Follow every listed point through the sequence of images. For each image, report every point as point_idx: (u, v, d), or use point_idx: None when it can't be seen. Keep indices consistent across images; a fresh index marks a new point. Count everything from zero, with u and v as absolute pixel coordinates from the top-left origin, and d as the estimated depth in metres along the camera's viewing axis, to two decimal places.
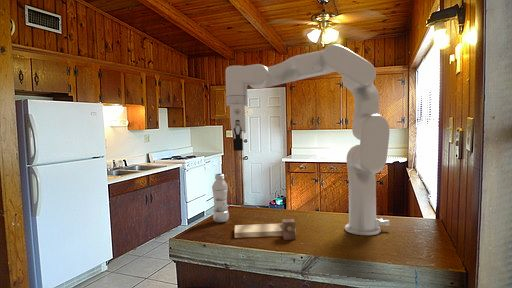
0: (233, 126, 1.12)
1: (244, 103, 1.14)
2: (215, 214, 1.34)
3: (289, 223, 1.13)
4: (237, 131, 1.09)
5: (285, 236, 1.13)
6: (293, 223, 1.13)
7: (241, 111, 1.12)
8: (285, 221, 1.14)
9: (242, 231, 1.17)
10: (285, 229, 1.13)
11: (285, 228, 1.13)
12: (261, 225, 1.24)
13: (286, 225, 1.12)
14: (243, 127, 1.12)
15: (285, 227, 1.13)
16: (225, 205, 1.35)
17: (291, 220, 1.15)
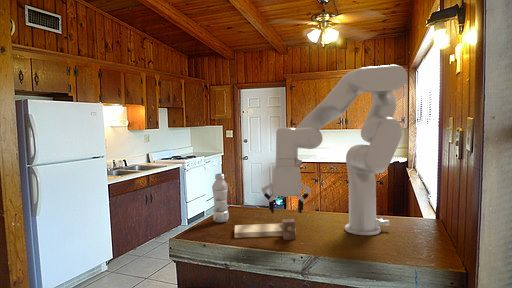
0: None
1: None
2: (215, 214, 1.34)
3: (289, 223, 1.13)
4: None
5: (285, 236, 1.13)
6: (293, 223, 1.13)
7: None
8: (285, 221, 1.14)
9: (242, 231, 1.17)
10: (285, 229, 1.13)
11: (285, 228, 1.13)
12: (261, 225, 1.24)
13: (286, 225, 1.12)
14: None
15: (285, 227, 1.13)
16: (225, 205, 1.35)
17: (291, 220, 1.15)
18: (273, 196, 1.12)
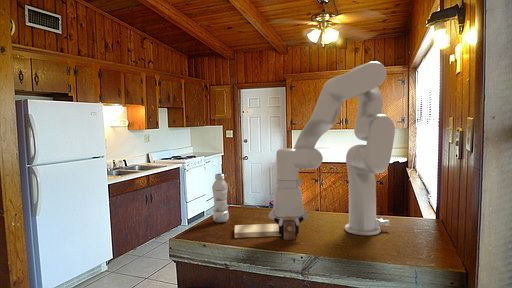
0: None
1: None
2: (215, 214, 1.34)
3: (289, 223, 1.13)
4: None
5: (285, 236, 1.13)
6: (293, 223, 1.13)
7: None
8: (285, 221, 1.14)
9: (242, 231, 1.17)
10: (285, 229, 1.13)
11: (285, 228, 1.13)
12: (261, 225, 1.24)
13: (286, 225, 1.12)
14: None
15: (285, 227, 1.13)
16: (225, 205, 1.35)
17: (291, 220, 1.15)
18: (280, 220, 1.13)
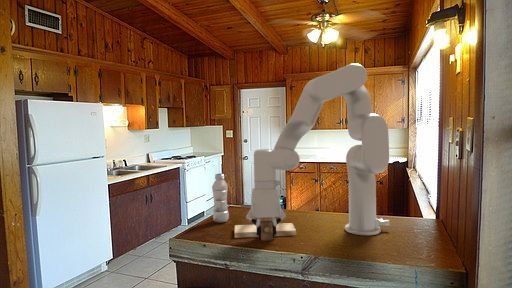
0: None
1: None
2: (215, 214, 1.34)
3: (266, 224, 1.12)
4: None
5: (262, 237, 1.12)
6: (270, 224, 1.12)
7: None
8: (262, 222, 1.13)
9: (242, 231, 1.17)
10: (262, 230, 1.12)
11: (262, 229, 1.12)
12: None
13: (263, 226, 1.12)
14: None
15: (262, 228, 1.12)
16: (225, 205, 1.35)
17: (269, 221, 1.14)
18: (258, 221, 1.13)
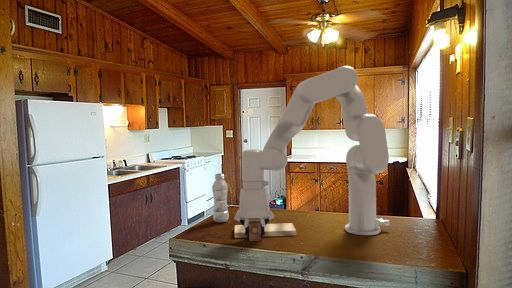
0: None
1: None
2: (215, 214, 1.34)
3: (254, 224, 1.12)
4: None
5: (250, 237, 1.12)
6: (258, 224, 1.12)
7: None
8: (251, 222, 1.13)
9: (242, 231, 1.17)
10: (250, 230, 1.12)
11: (250, 229, 1.12)
12: None
13: (251, 226, 1.12)
14: None
15: (250, 228, 1.12)
16: (225, 205, 1.35)
17: (257, 221, 1.14)
18: (246, 221, 1.12)
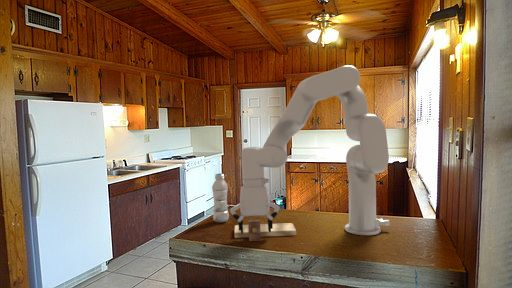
0: (269, 208, 1.13)
1: None
2: (215, 214, 1.34)
3: (254, 224, 1.12)
4: (277, 211, 1.14)
5: (250, 237, 1.12)
6: (258, 224, 1.12)
7: None
8: (250, 222, 1.13)
9: None
10: (250, 230, 1.12)
11: (250, 229, 1.12)
12: (261, 225, 1.24)
13: (251, 226, 1.12)
14: None
15: (250, 228, 1.12)
16: (225, 205, 1.35)
17: (257, 221, 1.14)
18: (241, 216, 1.12)
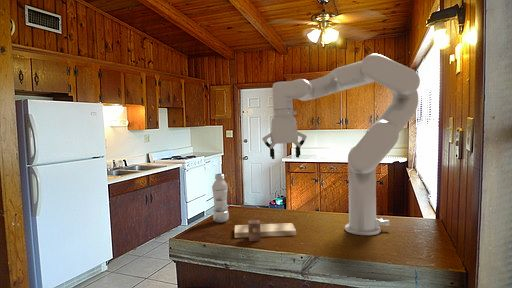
0: (297, 136, 1.26)
1: None
2: (215, 214, 1.34)
3: (254, 224, 1.12)
4: (304, 140, 1.28)
5: (250, 237, 1.12)
6: (258, 224, 1.12)
7: None
8: (250, 222, 1.13)
9: (242, 231, 1.17)
10: (250, 230, 1.12)
11: (250, 229, 1.12)
12: (261, 225, 1.24)
13: (251, 226, 1.12)
14: None
15: (250, 228, 1.12)
16: (225, 205, 1.35)
17: (257, 221, 1.14)
18: (273, 144, 1.26)
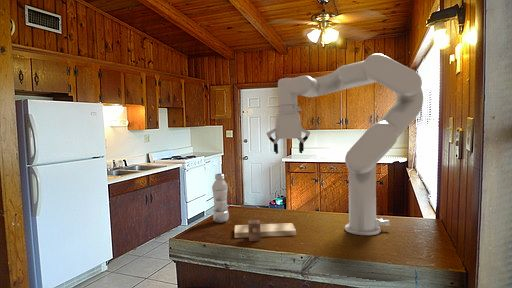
0: (301, 132, 1.29)
1: None
2: (215, 214, 1.34)
3: (254, 224, 1.12)
4: None
5: (250, 237, 1.12)
6: (258, 224, 1.12)
7: None
8: (250, 222, 1.13)
9: (242, 231, 1.17)
10: (250, 230, 1.12)
11: (250, 229, 1.12)
12: (261, 225, 1.24)
13: (251, 226, 1.12)
14: None
15: (250, 228, 1.12)
16: (225, 205, 1.35)
17: (257, 221, 1.14)
18: (277, 139, 1.28)
